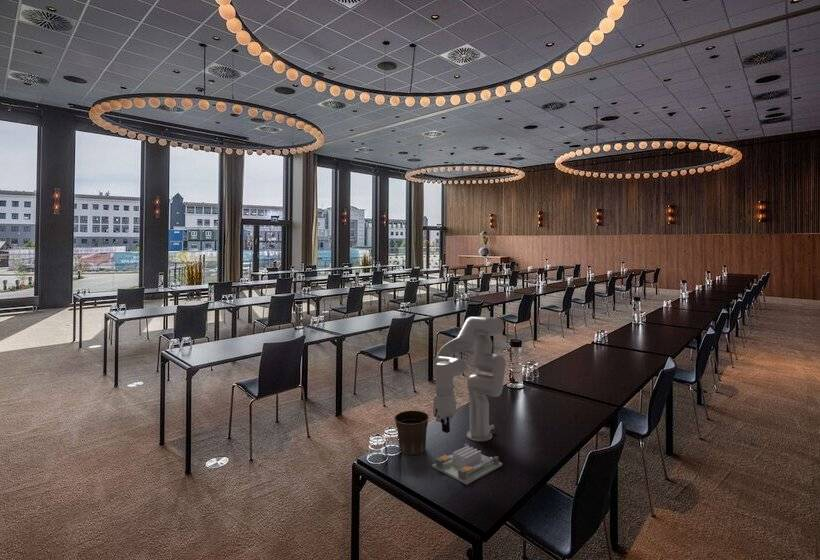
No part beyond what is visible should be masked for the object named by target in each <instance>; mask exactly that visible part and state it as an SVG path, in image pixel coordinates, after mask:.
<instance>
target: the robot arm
mask: <svg viewBox="0 0 820 560" xmlns="http://www.w3.org/2000/svg"><path fill="white" fill-rule="evenodd" d="M504 329H505V324H504V320H503V319H502V318H499V317H491V316H490V317H489V316H468V317H466V319H465V320H464V323H463V324H462V326H461V327H460V330H459V331H458V333H457V336H456V337H455V338H453V339H452V340H450V341H448V342H446V343H445V344H444V345H442V347H441V348H440V349H439V350H438V352H437V354H436V356H435V358H434V360H433V368H434V374H435V375H434V376H435V377H434V378H435V394H434V396H433V397H434V398H433V403H432V406H433V407H432V409H433V411H432V413H433V414H432V415H433V417H435V422H437V423H441V431H442V432H444V433H445V434H448V433H450V432H451V430H450V429H451V427H450V426H451V425H450V424H451V422H452V418H453V417H454V416H455V415H456V413H457V402H456V396H455V395H456V394H455V392H454V388H455V386H454V377H458V376H461V375H463V374H464V373H465V372H466V368H467V365H466V361H465V360H464V359H462V358H459V357H453V355H455V354H458V353H462V352H466V351H469V350H471V349H472V348H473V347H474V352H473V361H472V366H473V369H474V370H475V371H478V372H483V373H491V374H492V375H489V374H481V373H471V374H470V375H469V376H468V377H467V379H466V386H467V391H468V398H469V399H468V400H469V401H468V402H469V403H468V404H469V406H468V407H469V430H468V431H467V432H466V437H467V439H469V440H471V441H474V442H479V443H481V442H488V441H491V439H492V438H493V434H492V432H491V430H493V429H495V425H494V424H491V425H490V411H489V409H490V404H489V399H488V397H487V396H489V397H494V398H495V397H500V396H501V394H502V392H503V389H504V383H505V381H504V379H505V374H506V373H505V372H506V360H505V357H504V356H503V355H502V354H499V353H493V347H494V346H493V341H492V338H491V337H492V336H500V335H501V334H502V333H503V332H504ZM474 344H475V346H474Z"/></svg>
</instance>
